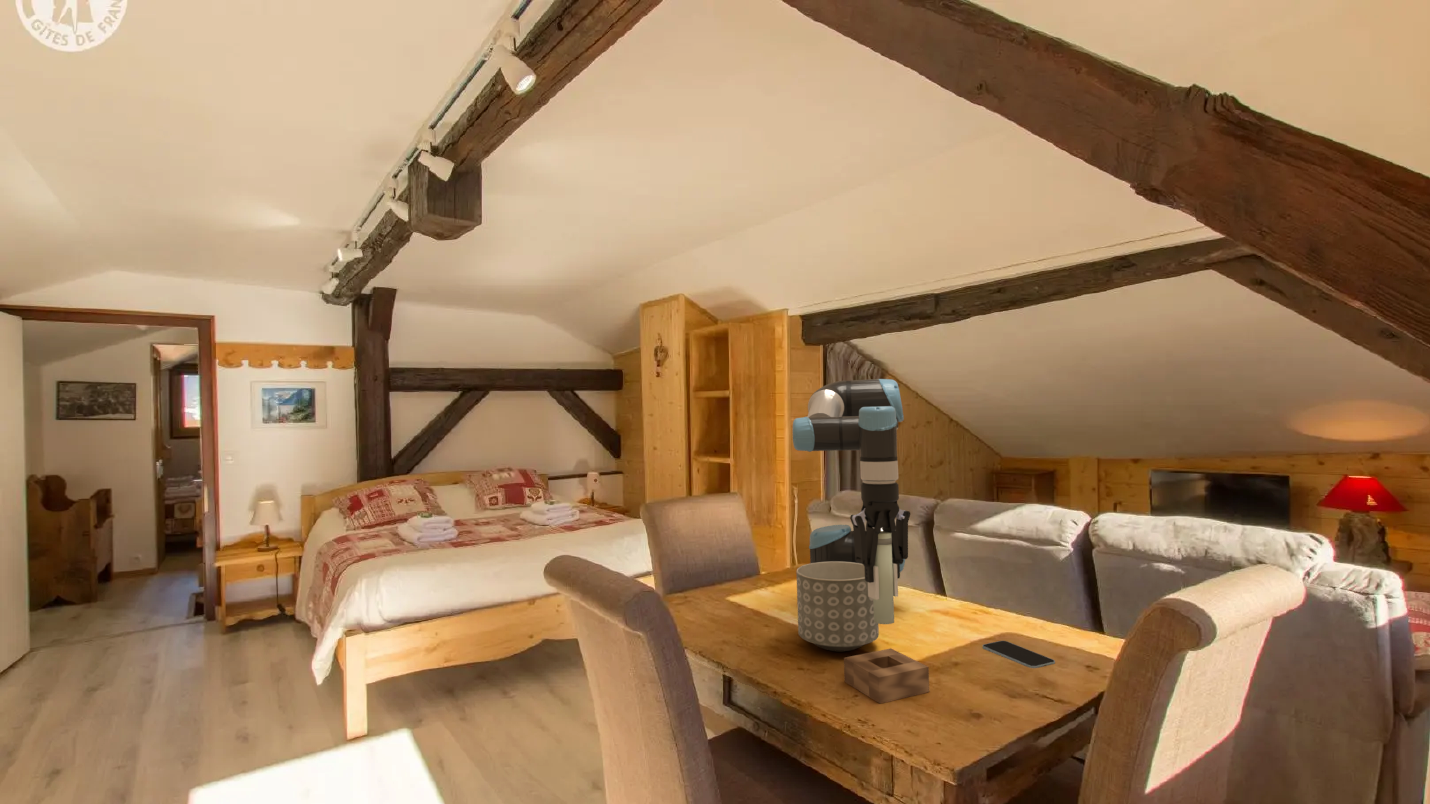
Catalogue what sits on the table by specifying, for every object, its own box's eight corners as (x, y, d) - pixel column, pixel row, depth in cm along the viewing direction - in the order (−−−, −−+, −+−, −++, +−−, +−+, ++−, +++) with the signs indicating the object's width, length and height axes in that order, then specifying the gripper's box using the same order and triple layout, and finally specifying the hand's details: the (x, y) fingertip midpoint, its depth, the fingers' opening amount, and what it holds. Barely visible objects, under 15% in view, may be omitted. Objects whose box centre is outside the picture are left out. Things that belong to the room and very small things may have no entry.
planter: (830, 666, 154) (828, 584, 154) (783, 641, 170) (781, 567, 171) (896, 649, 162) (893, 572, 162) (845, 628, 179) (843, 558, 179)
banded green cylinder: (886, 617, 144) (883, 530, 144) (898, 622, 140) (895, 533, 140) (869, 620, 142) (866, 532, 143) (881, 625, 139) (879, 535, 139)
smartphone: (1032, 666, 149) (980, 645, 162) (1032, 671, 149) (980, 648, 162) (1057, 661, 151) (1004, 639, 165) (1057, 665, 151) (1004, 643, 165)
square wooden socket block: (891, 671, 149) (890, 648, 149) (929, 691, 138) (928, 666, 138) (844, 681, 145) (843, 657, 145) (879, 703, 134) (878, 677, 134)
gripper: (901, 477, 149) (905, 587, 148) (833, 482, 142) (837, 597, 141) (924, 480, 142) (928, 595, 141) (855, 485, 135) (858, 606, 135)
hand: (883, 596), depth 141 cm, fingers closed on banded green cylinder, 4 cm apart
